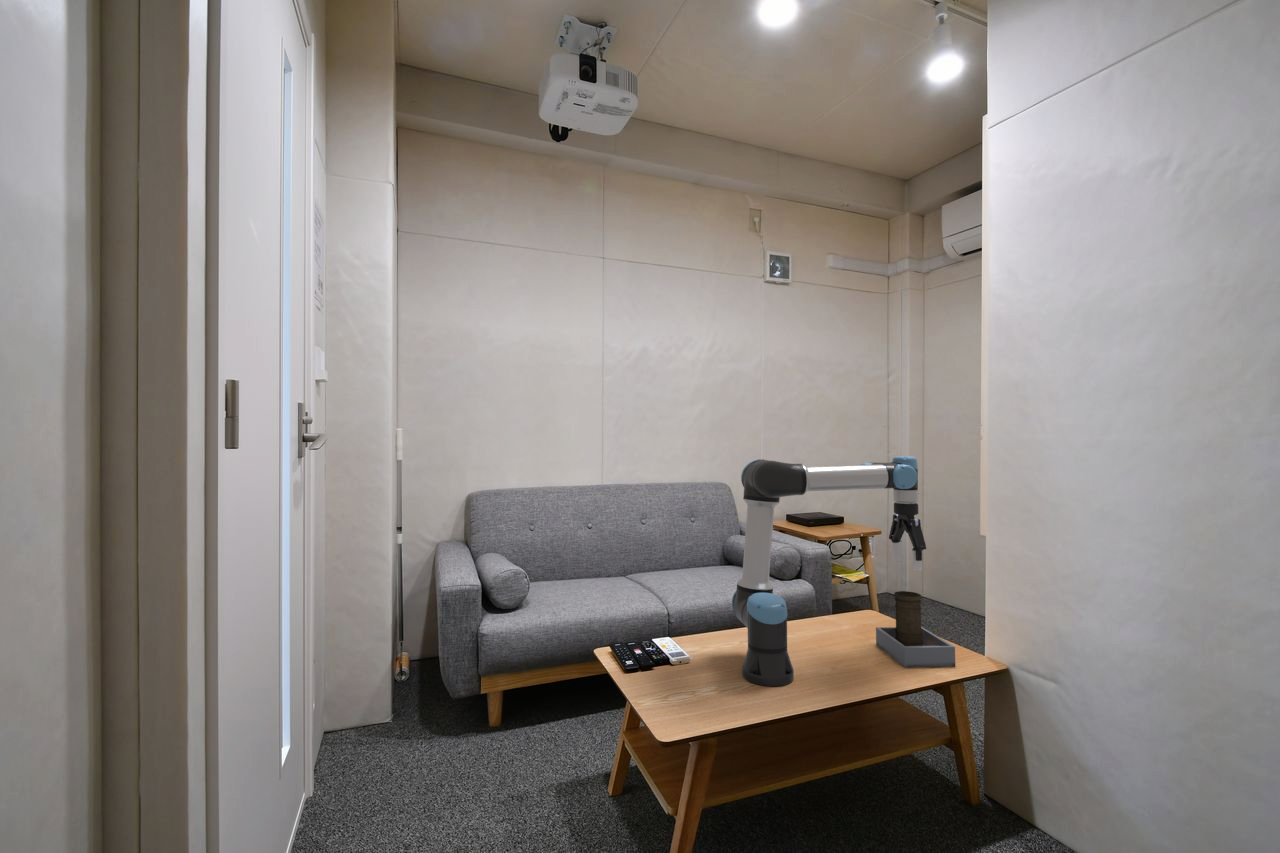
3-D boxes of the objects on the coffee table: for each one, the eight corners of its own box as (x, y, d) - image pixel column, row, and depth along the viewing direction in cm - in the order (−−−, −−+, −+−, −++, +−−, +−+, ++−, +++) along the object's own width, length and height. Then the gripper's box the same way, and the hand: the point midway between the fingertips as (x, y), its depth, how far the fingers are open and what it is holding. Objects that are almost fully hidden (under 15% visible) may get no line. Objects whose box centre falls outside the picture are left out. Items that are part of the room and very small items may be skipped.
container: (920, 655, 185) (919, 599, 186) (891, 649, 191) (890, 594, 191) (926, 647, 193) (925, 593, 193) (898, 641, 198) (896, 589, 198)
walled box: (904, 667, 178) (904, 648, 178) (876, 644, 198) (875, 627, 198) (955, 666, 179) (955, 646, 179) (921, 643, 199) (921, 626, 199)
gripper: (937, 506, 181) (938, 574, 180) (898, 498, 206) (899, 558, 205) (913, 506, 180) (915, 574, 180) (878, 498, 205) (879, 558, 205)
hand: (907, 566), depth 192 cm, fingers open, 13 cm apart
